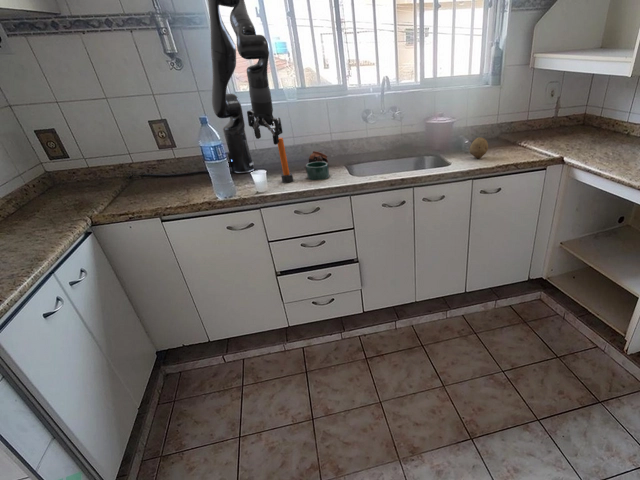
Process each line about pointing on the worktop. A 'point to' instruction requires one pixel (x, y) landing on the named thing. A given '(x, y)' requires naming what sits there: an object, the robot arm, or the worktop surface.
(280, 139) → the dish brush
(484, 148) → the brown potato
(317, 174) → the utensil cup
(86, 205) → the worktop surface
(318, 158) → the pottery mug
